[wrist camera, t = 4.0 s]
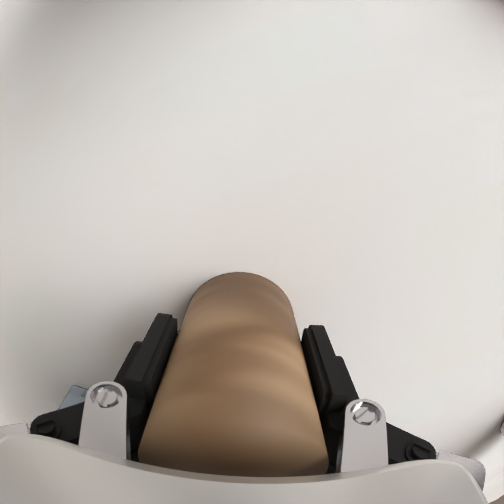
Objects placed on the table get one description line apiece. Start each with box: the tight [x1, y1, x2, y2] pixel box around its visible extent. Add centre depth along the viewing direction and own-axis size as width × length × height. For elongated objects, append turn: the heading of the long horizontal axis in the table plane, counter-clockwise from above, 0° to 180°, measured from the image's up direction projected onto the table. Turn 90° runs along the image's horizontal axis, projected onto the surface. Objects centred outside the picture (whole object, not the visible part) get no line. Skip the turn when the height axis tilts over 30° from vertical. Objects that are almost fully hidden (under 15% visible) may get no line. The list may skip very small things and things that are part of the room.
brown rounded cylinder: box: [138, 272, 329, 477], centre depth 10 cm, size 5×5×8 cm
